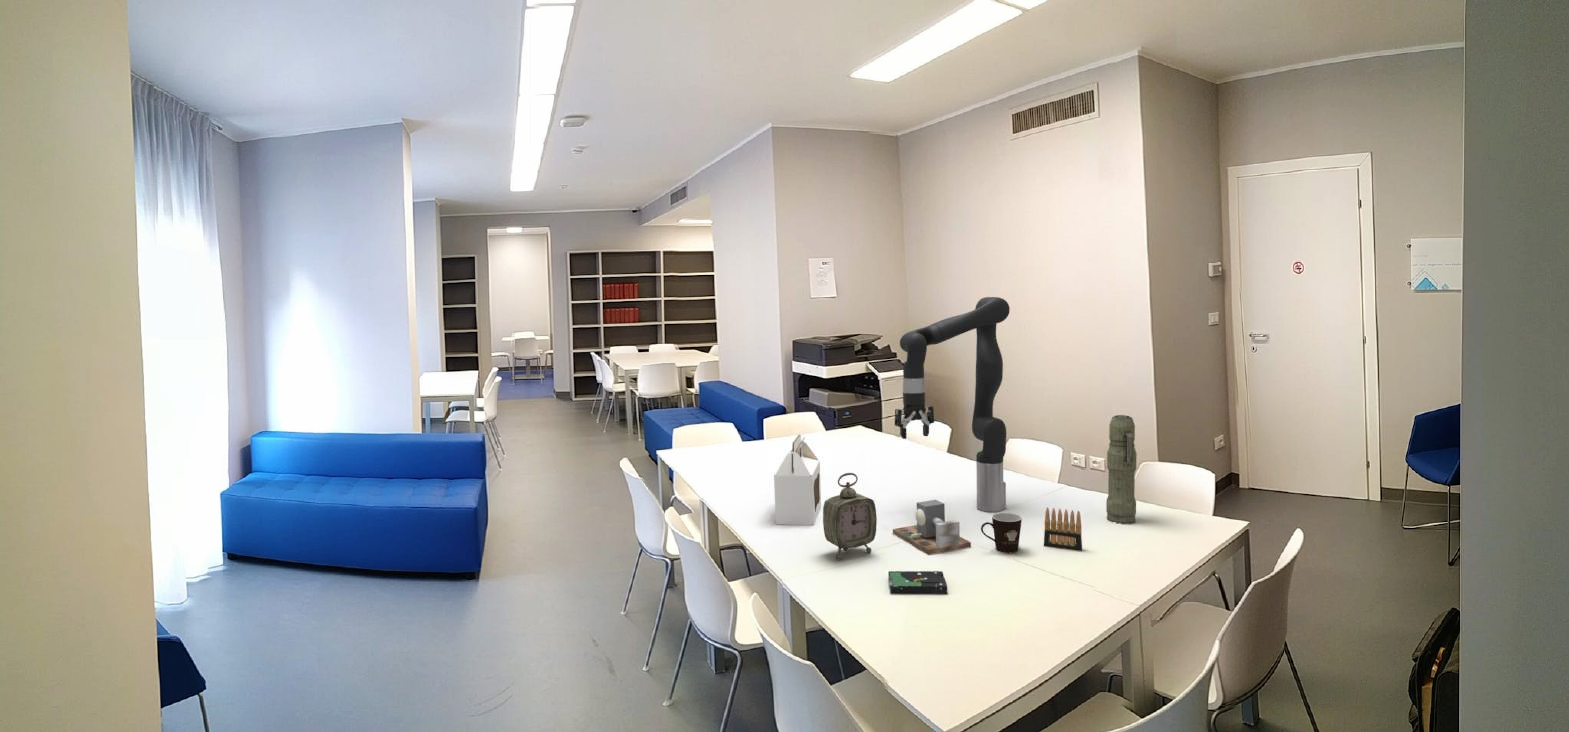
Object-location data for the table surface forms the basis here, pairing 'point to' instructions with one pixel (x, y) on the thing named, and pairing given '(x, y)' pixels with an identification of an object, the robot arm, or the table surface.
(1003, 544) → the coffee mug
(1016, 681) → the table surface
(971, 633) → the table surface
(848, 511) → the tabletop clock
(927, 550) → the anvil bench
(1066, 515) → the ammunition clip
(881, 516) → the table surface
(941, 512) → the block
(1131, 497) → the thermos
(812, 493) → the gable box
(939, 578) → the disk drive
